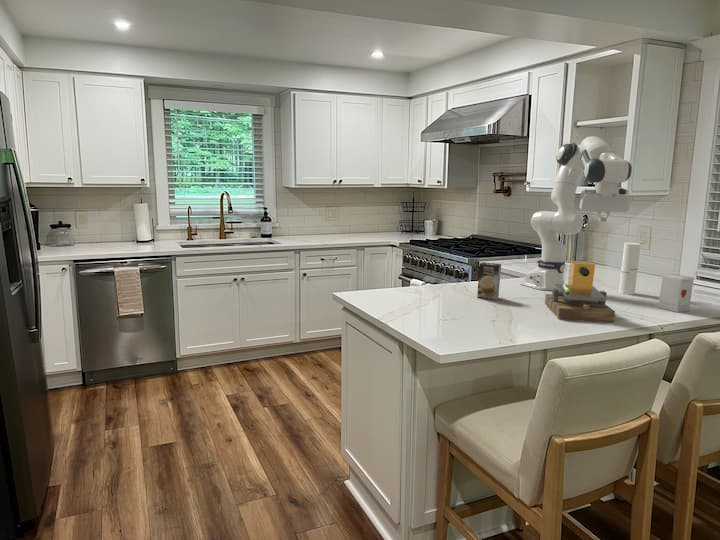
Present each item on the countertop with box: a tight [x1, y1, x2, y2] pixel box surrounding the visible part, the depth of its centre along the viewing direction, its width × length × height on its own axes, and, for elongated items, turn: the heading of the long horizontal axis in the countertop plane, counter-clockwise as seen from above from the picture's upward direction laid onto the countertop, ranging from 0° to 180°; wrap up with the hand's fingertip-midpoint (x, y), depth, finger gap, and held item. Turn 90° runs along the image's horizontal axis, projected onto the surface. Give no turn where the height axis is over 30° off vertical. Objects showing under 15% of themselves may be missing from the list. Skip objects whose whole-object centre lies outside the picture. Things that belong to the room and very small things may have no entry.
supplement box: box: [657, 273, 695, 313], centre depth 233 cm, size 9×9×15 cm
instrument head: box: [554, 260, 607, 302], centre depth 221 cm, size 18×16×14 cm
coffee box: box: [476, 261, 502, 300], centre depth 246 cm, size 9×6×16 cm
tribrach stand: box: [544, 289, 616, 323], centre depth 223 cm, size 26×21×10 cm
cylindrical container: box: [618, 242, 642, 296], centre depth 263 cm, size 7×7×25 cm
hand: (602, 221), depth 236 cm, fingers closed
